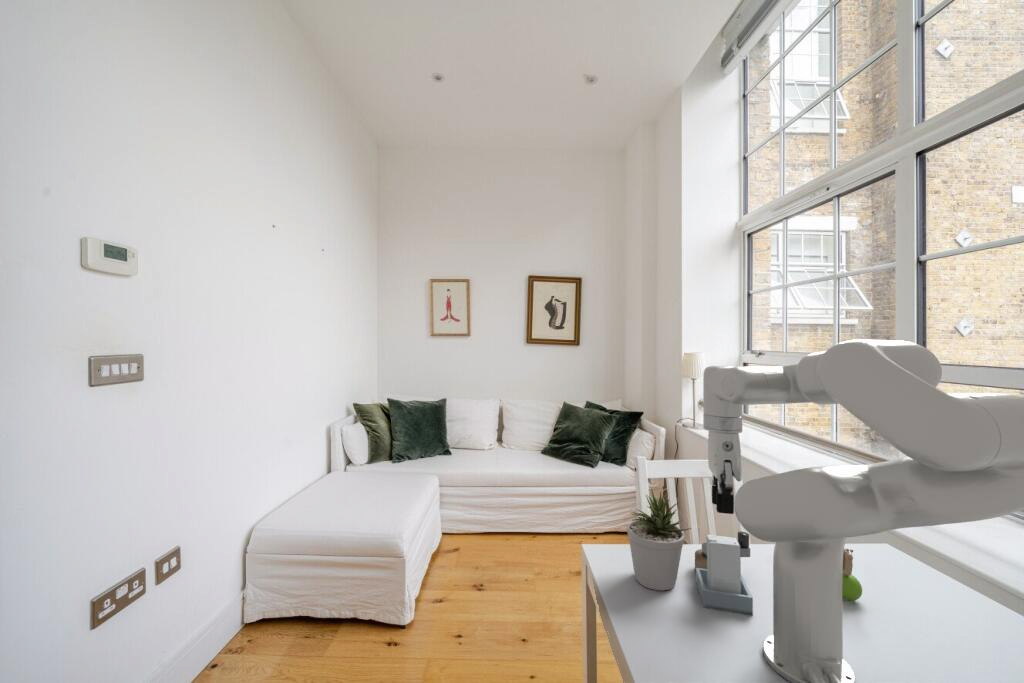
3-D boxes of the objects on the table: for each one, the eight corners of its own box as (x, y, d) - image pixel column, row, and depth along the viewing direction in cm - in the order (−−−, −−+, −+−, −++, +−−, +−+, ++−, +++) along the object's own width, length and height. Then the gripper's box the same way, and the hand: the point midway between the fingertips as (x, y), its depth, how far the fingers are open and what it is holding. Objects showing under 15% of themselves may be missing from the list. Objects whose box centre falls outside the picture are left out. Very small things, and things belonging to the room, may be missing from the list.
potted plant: (699, 597, 89) (699, 504, 89) (635, 596, 89) (635, 502, 89) (677, 566, 101) (677, 484, 102) (620, 565, 102) (621, 483, 102)
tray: (752, 615, 83) (752, 597, 83) (702, 607, 85) (702, 590, 85) (740, 589, 92) (740, 573, 92) (695, 583, 94) (695, 567, 94)
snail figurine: (833, 604, 87) (833, 546, 87) (827, 588, 93) (827, 534, 93) (867, 612, 84) (866, 552, 85) (858, 595, 90) (858, 540, 90)
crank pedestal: (736, 585, 93) (736, 568, 93) (697, 580, 95) (697, 562, 96) (727, 566, 102) (727, 550, 102) (692, 561, 104) (692, 545, 104)
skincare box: (736, 593, 90) (736, 536, 90) (741, 605, 85) (741, 546, 85) (705, 588, 91) (705, 532, 92) (709, 599, 87) (709, 541, 87)
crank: (708, 561, 96) (708, 539, 96) (697, 550, 101) (697, 530, 101) (755, 559, 96) (755, 538, 97) (741, 549, 101) (741, 529, 102)
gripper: (753, 431, 80) (753, 526, 80) (732, 418, 96) (732, 497, 96) (711, 429, 82) (710, 522, 82) (697, 416, 98) (697, 493, 98)
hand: (722, 507), depth 89 cm, fingers open, 4 cm apart
